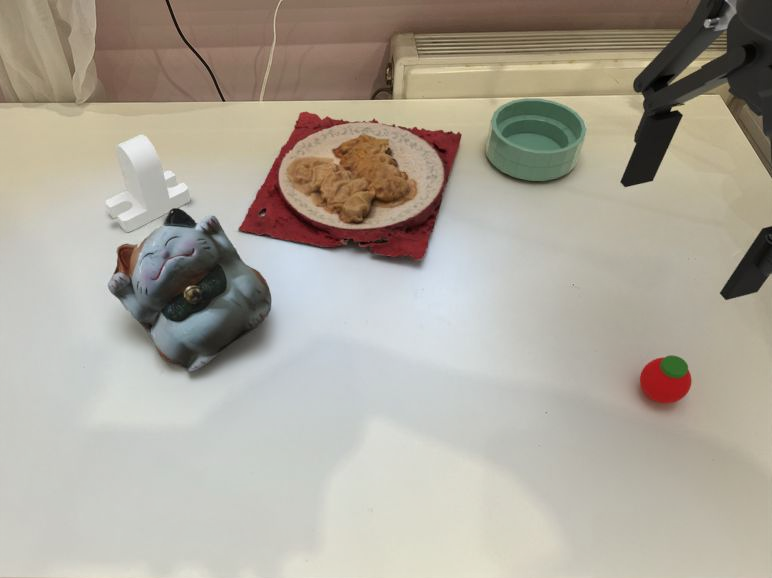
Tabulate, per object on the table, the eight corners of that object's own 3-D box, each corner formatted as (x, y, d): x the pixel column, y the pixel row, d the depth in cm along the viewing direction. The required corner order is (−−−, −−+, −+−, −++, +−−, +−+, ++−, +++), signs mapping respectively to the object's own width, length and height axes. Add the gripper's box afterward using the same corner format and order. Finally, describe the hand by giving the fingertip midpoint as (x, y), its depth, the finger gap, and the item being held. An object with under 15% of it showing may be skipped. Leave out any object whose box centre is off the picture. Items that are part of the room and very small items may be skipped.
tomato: (674, 375, 72) (693, 347, 68) (685, 412, 69) (706, 385, 65) (629, 374, 72) (645, 345, 68) (638, 411, 69) (656, 383, 65)
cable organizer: (192, 200, 91) (178, 136, 84) (127, 233, 88) (106, 170, 80) (171, 181, 94) (156, 117, 86) (107, 212, 91) (85, 149, 83)
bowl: (568, 130, 98) (577, 98, 94) (582, 185, 91) (594, 153, 87) (481, 128, 99) (487, 97, 95) (489, 183, 91) (496, 152, 87)
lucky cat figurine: (165, 391, 73) (86, 288, 65) (159, 340, 83) (91, 246, 76) (288, 322, 72) (222, 211, 65) (267, 279, 83) (208, 179, 75)
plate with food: (460, 144, 97) (464, 123, 94) (422, 266, 82) (424, 245, 79) (301, 120, 102) (300, 99, 100) (237, 230, 87) (234, 209, 85)
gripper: (649, -117, 45) (564, 151, 62) (969, 81, 31) (744, 362, 47) (748, -133, 46) (638, 135, 63) (1103, 52, 32) (836, 337, 49)
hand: (683, 233), depth 55 cm, fingers open, 13 cm apart
